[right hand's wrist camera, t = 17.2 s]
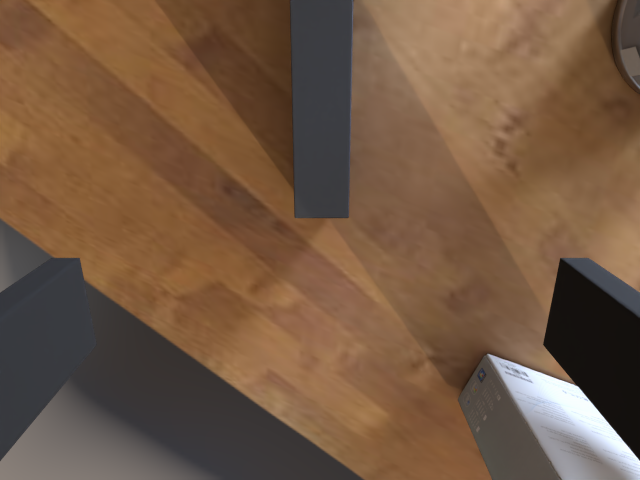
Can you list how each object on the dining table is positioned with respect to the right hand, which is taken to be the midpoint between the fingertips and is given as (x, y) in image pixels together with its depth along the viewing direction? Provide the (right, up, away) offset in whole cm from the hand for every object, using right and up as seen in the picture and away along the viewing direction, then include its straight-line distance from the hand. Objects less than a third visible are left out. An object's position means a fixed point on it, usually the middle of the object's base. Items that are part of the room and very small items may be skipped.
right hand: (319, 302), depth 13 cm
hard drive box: (+25, -17, +43) cm, 53 cm away
